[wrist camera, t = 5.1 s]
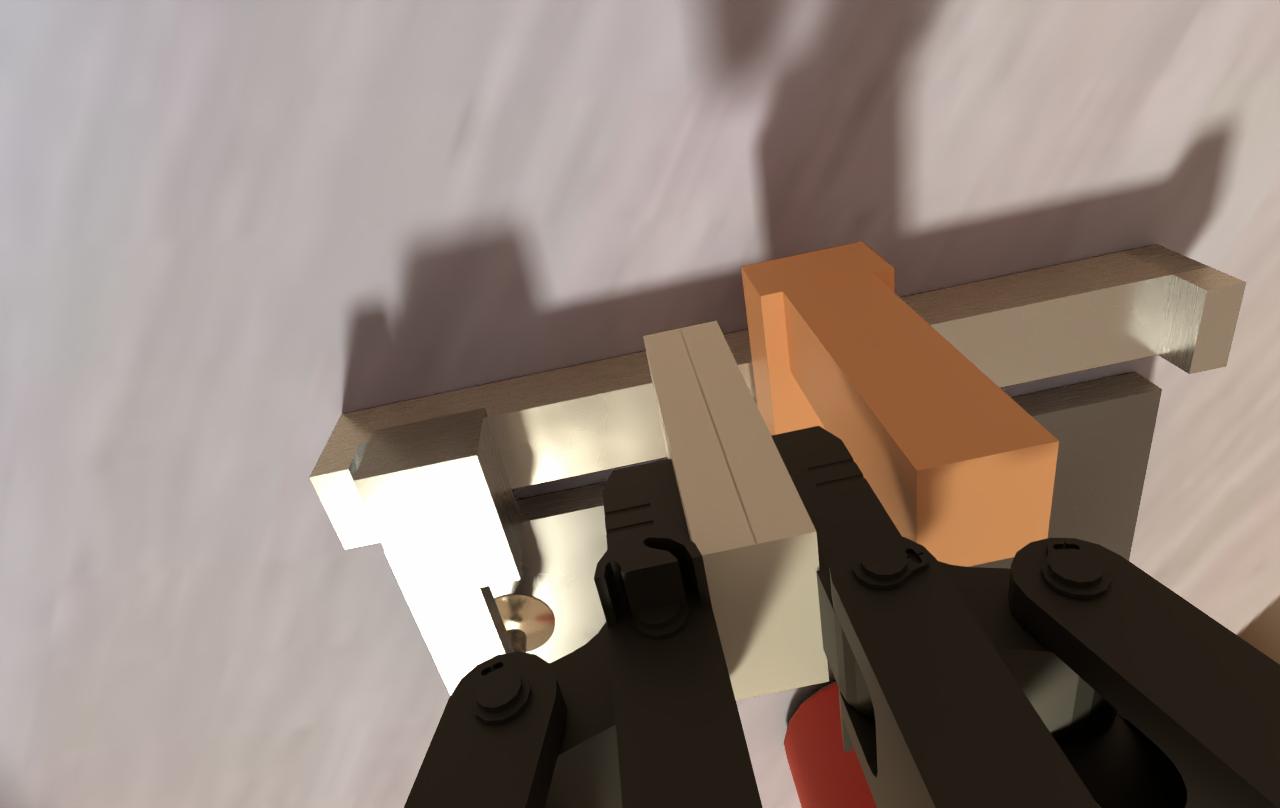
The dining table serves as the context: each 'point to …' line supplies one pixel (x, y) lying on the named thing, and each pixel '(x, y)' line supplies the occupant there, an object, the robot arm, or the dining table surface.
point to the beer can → (824, 756)
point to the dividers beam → (631, 430)
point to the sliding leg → (898, 404)
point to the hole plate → (1081, 508)
